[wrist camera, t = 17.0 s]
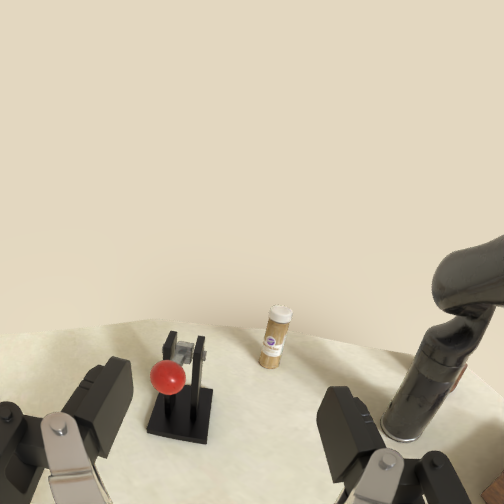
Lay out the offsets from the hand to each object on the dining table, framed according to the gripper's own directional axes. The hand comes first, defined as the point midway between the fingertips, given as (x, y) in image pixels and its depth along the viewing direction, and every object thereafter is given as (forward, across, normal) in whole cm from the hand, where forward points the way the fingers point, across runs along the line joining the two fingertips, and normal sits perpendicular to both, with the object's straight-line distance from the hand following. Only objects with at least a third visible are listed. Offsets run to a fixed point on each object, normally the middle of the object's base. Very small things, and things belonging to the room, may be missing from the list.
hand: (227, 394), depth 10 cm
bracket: (+23, +5, +28) cm, 37 cm away
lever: (+17, +5, +15) cm, 23 cm away
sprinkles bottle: (+41, -10, +28) cm, 51 cm away
